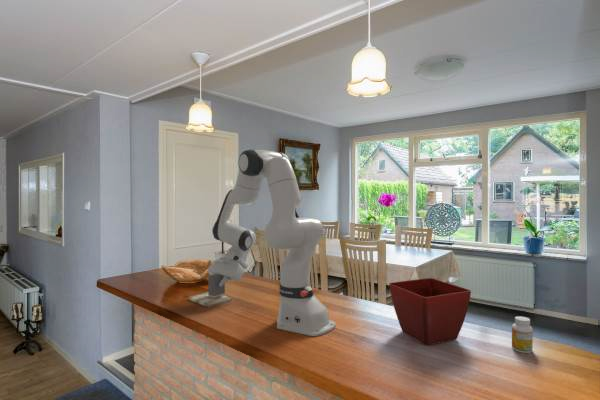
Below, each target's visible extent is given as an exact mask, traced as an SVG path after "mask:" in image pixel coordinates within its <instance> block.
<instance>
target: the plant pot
mask: <svg viewBox="0 0 600 400" xmlns="http://www.w3.org/2000/svg"><path fill="white" fill-rule="evenodd" d="M388 285H389V286H388V287H389V292H390V297H391V300H392V305H393V309H394V312H395V315H396V318H397V320H398V324H399V326H400V329H401V331H402V333H404V334H406V335H408V337H410V338H413V339H414V340H416V341H418V342H419V343H421V344H423V345H425V346H431V345H432V346H433V345H436V344H440V343H441V344H442V343H447V342H452V341H456V340H457V339H458V338H459V337H458V336H459V334H460V332H461V329H462V328H463V326H464V323H465V319H466V316H467V312H468V308H469V304H470V300H471V295H472V290H471V289H468V288H465V287H461V286H458V285H455V284H453V283H452V284H451V283H449V282H446V281H442V280H439V279H436V278H432V277H428V278H419V279H417V278H416V279H409V280H401V281H396V282H390V283H389V284H388Z"/></svg>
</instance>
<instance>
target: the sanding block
mask: <svg viewBox="0 0 600 400" xmlns="http://www.w3.org/2000/svg"><path fill="white" fill-rule="evenodd" d="M223 277H224V276H223V275H219V274H215V275H211V274H210V275H208V277H207V278H208V279H207V281H208V282H207V283H208V289H207V290H208V291H207V292H208V294H209V295H208V296H210V297H213V298H215V297H218V296H222V295H224V296H226V289H225V288H226V283H224V284H223V285H222V287H220V286H218V285H217V284H218V282H219V281H221V280H222V279H223Z"/></svg>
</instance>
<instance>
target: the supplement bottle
mask: <svg viewBox="0 0 600 400" xmlns="http://www.w3.org/2000/svg"><path fill="white" fill-rule="evenodd" d="M533 336H534V335H533V327H532V326H531V319H530V318H529V317H526V316H515V317H514V323H512V325H511V349H512V350H514V351H515V352H517V353H518V352H519V353H520V354H521V353H523V354H531V353H532V352H533V338H534V337H533Z"/></svg>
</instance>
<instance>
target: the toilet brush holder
mask: <svg viewBox="0 0 600 400" xmlns="http://www.w3.org/2000/svg"><path fill="white" fill-rule="evenodd" d="M224 243H225V242H222V241H221V250H217V251H214V255H215V260H216V259H219V258H223V256H224V255H225V254H226V252H227V251H228V250H224Z"/></svg>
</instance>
